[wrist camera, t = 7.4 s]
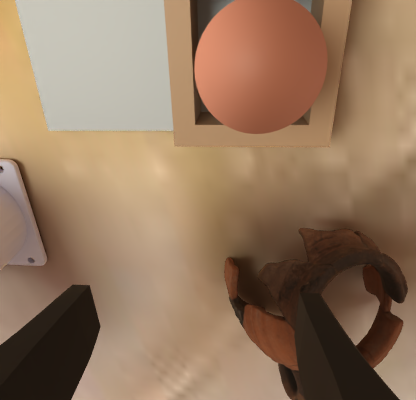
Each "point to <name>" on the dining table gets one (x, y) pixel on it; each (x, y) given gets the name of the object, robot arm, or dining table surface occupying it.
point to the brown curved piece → (315, 283)
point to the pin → (260, 64)
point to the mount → (155, 69)
